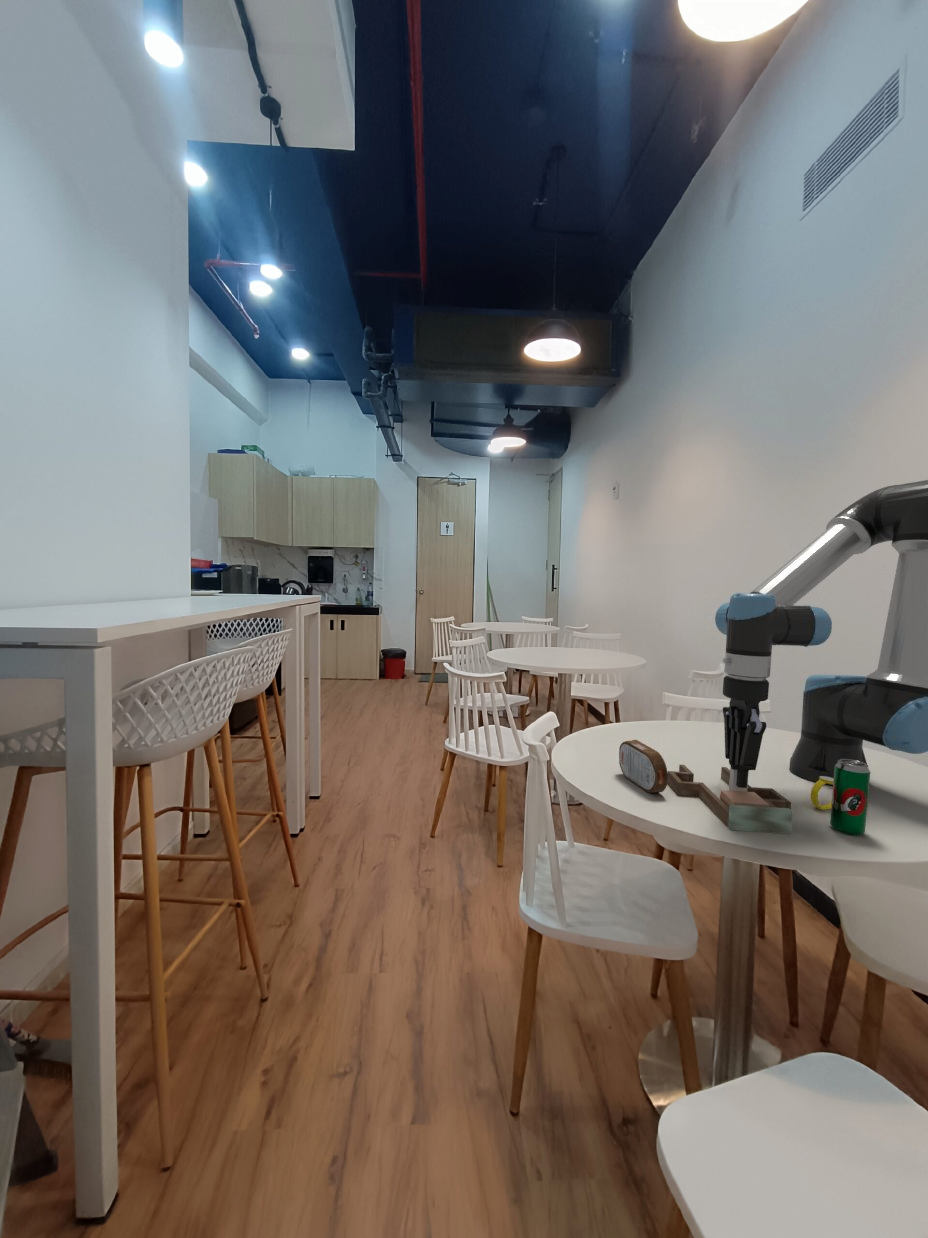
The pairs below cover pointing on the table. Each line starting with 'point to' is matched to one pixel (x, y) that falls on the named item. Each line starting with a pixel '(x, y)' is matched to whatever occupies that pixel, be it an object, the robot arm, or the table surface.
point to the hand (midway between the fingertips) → (737, 802)
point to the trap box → (737, 815)
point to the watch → (816, 789)
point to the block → (742, 798)
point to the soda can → (850, 797)
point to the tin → (643, 766)
